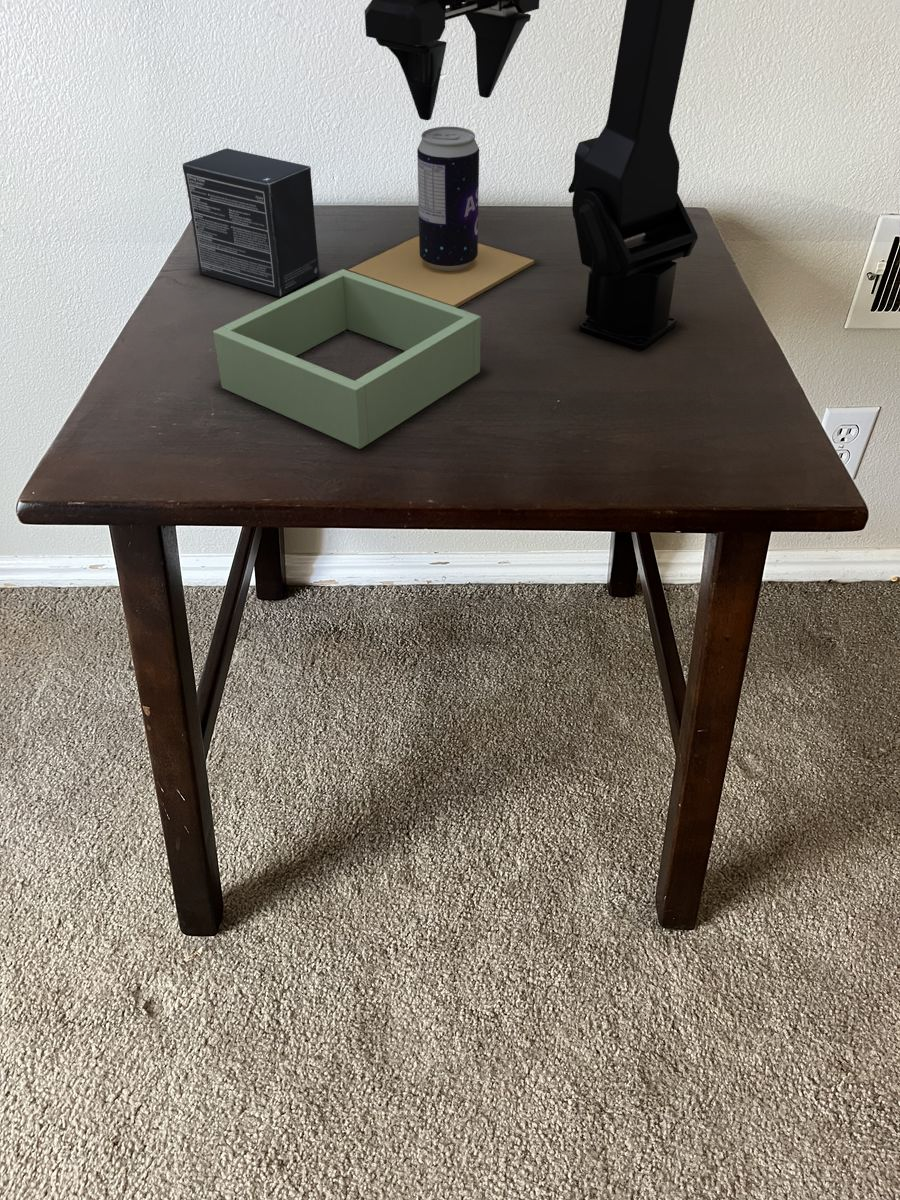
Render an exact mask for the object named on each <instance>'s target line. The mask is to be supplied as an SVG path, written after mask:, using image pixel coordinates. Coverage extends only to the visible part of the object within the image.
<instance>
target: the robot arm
mask: <svg viewBox="0 0 900 1200" xmlns="http://www.w3.org/2000/svg"><path fill="white" fill-rule="evenodd" d="M695 3H696V0H625V5H624V6H625V7H624V13H623V19H622V25H621V30H620V37H619V45H618V50H617V56H616V57H617V58H616V62H615V63H616V64H615V70H614V75H613V83H612V89H611V93H610V94H611V95H610V102H609V106H608V112H607V114H608V115H607V119H606V123H605V125H604V127H603V129H602V130H601V132H600V133H599V135H598V136H597V137H593V138H590V139H585V140H583V141H579V142H578V144H577V146H576V148H575V152H574V165H573V166H574V169H573V175H572V179H571V180H572V181H571V182H570V185H569V187H568V189H567V191H568V193H569V194H572V193H573V195H572V200H571V201H572V203H571V204H572V205H571V209H572V216H573V219H574V223H575V230H576V236H577V242H578V249H579V255H580V262H581V264H582V265H583V266H586V267H587V268H590V271H589V272H588V280H587V281H588V282H587V291H586V302H585V303H586V304H585V315H586V316H587V318H585V319H584V320H583V321H581V322H580V323H579V325H578V330H579V331H582V332H585V333H587V334H590V335H594V336H597V337H599V338H603V339H606V340H609V341H612V342H615V343H618V344H621V345H624V346H627V347H630V348H633V349H636V350H643V349H645V348H647V347H649V345H650V344H652V343H653V342H655V341H656V340H658V339H659V338H660V337H662V336H663V335H664V334H666V333H667V332H668V331H670V330H672V329H673V328H674V327H675V326H677V323H678V322H677V321H678V320H677V318H676V317H673V316H671V315H670V312H671V306H672V298H673V293H674V292H673V291H674V285H675V280H676V279H675V278H676V272H677V264H678V263H677V262H676V261H675V260H678V259H681V258H687V257H689V256H690V255H691V253H692V251H693V249H694V247H695V245H696V243H697V241H698V238H699V235H698V232H697V231H696V228H695V226H694V225H693V222H692V220H691V217H690V216H689V214H688V212H687V209H686V208H685V205H684V204H683V201H682V199H681V197H680V195H679V193H678V191H679V177H680V176H679V175H680V159H679V157H678V154H677V150H676V148H675V145H674V141H673V138H672V135H671V131H670V129H671V124H672V123H671V121H672V117H673V112H674V107H675V102H676V97H677V93H678V87H679V83H680V77H681V73H682V67H683V63H684V58H685V52H686V48H687V43H688V37H689V34H690V33H689V32H690V27H691V22H692V18H693V12H694V8H695ZM539 9H540V0H371V1H370V2H369V3H368V5H367V6H366V8H365V9H364V25H365V26H364V27H365V37H366V38H371V39H375V41H376V43H377V44H378V46H381V47H385V48H387V49H388V50H389V51H390V52H391V53H392V54H393V55H394V57H396V59H397V61H398V63H399V65H400V67H401V70H402V72H403V74H404V77H405V80H406V83H407V85H408V89H409V92H410V94H411V98H412V100H413V103H414V106H415V109H416V112H417V115H418V117H419V119H420V120H423V121H430V120H431V119H432V116H433V114H434V113H433V112H434V109H435V105H436V101H437V95H438V89H439V86H440V81H441V75H442V71H443V70H442V68H443V65H444V60H445V53H446V50H447V49H446V48H447V41H443V40H440V39H441V38H442V36H443V33H444V31H445V29H446V21H449V20H451V19H455V18H458V17H462V16H465V17H466V19H467V21H468V22H469V24H470V26H471V28H472V30H473V32H474V36H475V38H474V39H475V57H476V60H475V61H476V80H477V81H476V82H477V88H478V95H479V97H481V98H485V99H488V98H490V97H491V95H492V94H493V91H494V90H495V87H496V84H497V82H498V80H499V78H500V76H501V74H502V72H503V69H504V68H505V65H506V63H507V61H508V58H509V57H510V54H511V53H512V50H513V48H514V46H515V44H516V43H517V42H518V39H519V37H520V35H521V34H522V31H523V29H524V27H525V25H526V24H527V23H529V22H530V21H531V18H532V15H531V14H530V12H533V11H536V10H539ZM642 234H644V235H642ZM639 235H641V236H639ZM636 236H638V237H636ZM633 237H635V238H633ZM630 238H633V239H630ZM627 239H629V240H627ZM625 240H627V241H625Z"/></svg>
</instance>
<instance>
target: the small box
mask: <svg viewBox="0 0 900 1200" xmlns="http://www.w3.org/2000/svg"><path fill="white" fill-rule="evenodd" d="M182 172H183V176H184V181H185V185H186V191H187V197H188V203H189V210H190V217H191V223H192V229H193V237H194V243H195V248H196V256H197V263H198V272H199V274H200V275H203V276H205V277H209V278H213V279H217V280H220V281H222V282H227V283H231V284H234V285H238V286H240V287H244V288H248V289H252V290H254V291H259V292H261V293H265V294H268V295H271V296H276V297H279V298H280V297H281V298H282V297H284V296H286V294H288V293H290V292H291V291H293V290H295V289H297V288H299V287H301V286H303V285H305V284H307V283H308V282H310V281H311V280H314V279H316V278H317V277H319V276H320V274H321V273H320V268H319V267H320V266H319V256H318V255H319V253H318V242H317V232H316V221H315V219H316V218H315V207H314V206H315V205H314V194H313V184H312V183H313V182H312V167H311V166H309V165H305V164H301V163H296V162H291V161H287V160H282V159H279V158H278V159H276V158H273V157H269V156H264V155H260V154H256V153H255V154H254V153H250V152H246V151H241V150H237V149H231V148H227V147H226V148H223V149H221V150H217V151H215V152H212V153H209V154H206V155H203V156H200V157H197V158H194V159H192V160H189V161H186V162H183V163H182Z"/></svg>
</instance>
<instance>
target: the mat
mask: <svg viewBox="0 0 900 1200" xmlns="http://www.w3.org/2000/svg"><path fill="white" fill-rule="evenodd" d="M534 264H535V260H534V259H532V258H529V257H526V256H522V255H519V254H516V253H512V252H509V251H506V250H502V249H499V248H495V247H492V246H489V245H485V244H482V243H479V242H478V255H477V257H476V258H475V259H474V260H473V261H472V262H471V263H470V264H469V266H468V267H466V268H464V269H462V270H458V271H439V270H436V269H433V268H431V267H430V266H429V265H428V264H427V262H425V261H424V260H423V259H422V258H421V257H420V248H419V235H417V236H415V237H413V238H411V239H409V240H407V241H404V242H402V243H400V244H398V245H396V246H394V247H392V248H390V249H388V250H386V251H384V252H382V253H379V254H378V255H375V256H374V257H372V258H369V259H367V260H365V261H363V262H361V263H359V264H357V265H355V266H353V267H350V268H348V270H347V271H350V272H353V273H356V274H358V275H361V276H364V277H367V278H370V279H373V280H376V281H379V282H382V283H385V284H388V285H391V286H394V287H397V288H400V289H402V290H405V291H408V292H411V293H414V294H417V295H420V296H423V297H426V298H429V299H432V300H435V301H438V302H441V303H443V304H446V305H449V306H452V307H455V308H459V307H460V306H462V305H464V304H465V303H467V302H469V301H471V300H472V299H474V298H477V297H478V296H480V295H482V294H483V293H485V292H487V291H489V290H491V289H492V288H494V287H496V286H497V285H499V284H501V283H503V282H504V281H506V280H508V279H510V278H511V277H514V276H515V275H517V274H519V273H520V272H522V271H524V270H525V269H527V268H529V267H532V266H533V265H534Z"/></svg>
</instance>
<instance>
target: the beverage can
mask: <svg viewBox="0 0 900 1200" xmlns="http://www.w3.org/2000/svg"><path fill="white" fill-rule="evenodd" d="M420 136H421V140H420V143H419V144H418V146H417V152H416V153H417V157H416V158H417V197H418V199H417V200H418V233H419V234H418V236H419V248H420V257H421V258H422V259H423V260H424V261H425V262H427V264H428V265H429V266H430V267H431V268H433V269H436V270H439V271H458V270H462V269H464V268H466V267H468V266H469V264H470V263H471V262H472V261H473V260H474V259H475V258H476V257H477V255H478V243H479V200H480V199H479V197H480V196H479V193H480V190H479V189H480V147H479V145H478V142H477V141H476V134H475V131H473V130H470V129H468V128H466V127H462V126H461V127H460V126H437V127H432V128H428V129H426V130H424V131H423V132H422V133H421V134H420Z"/></svg>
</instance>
